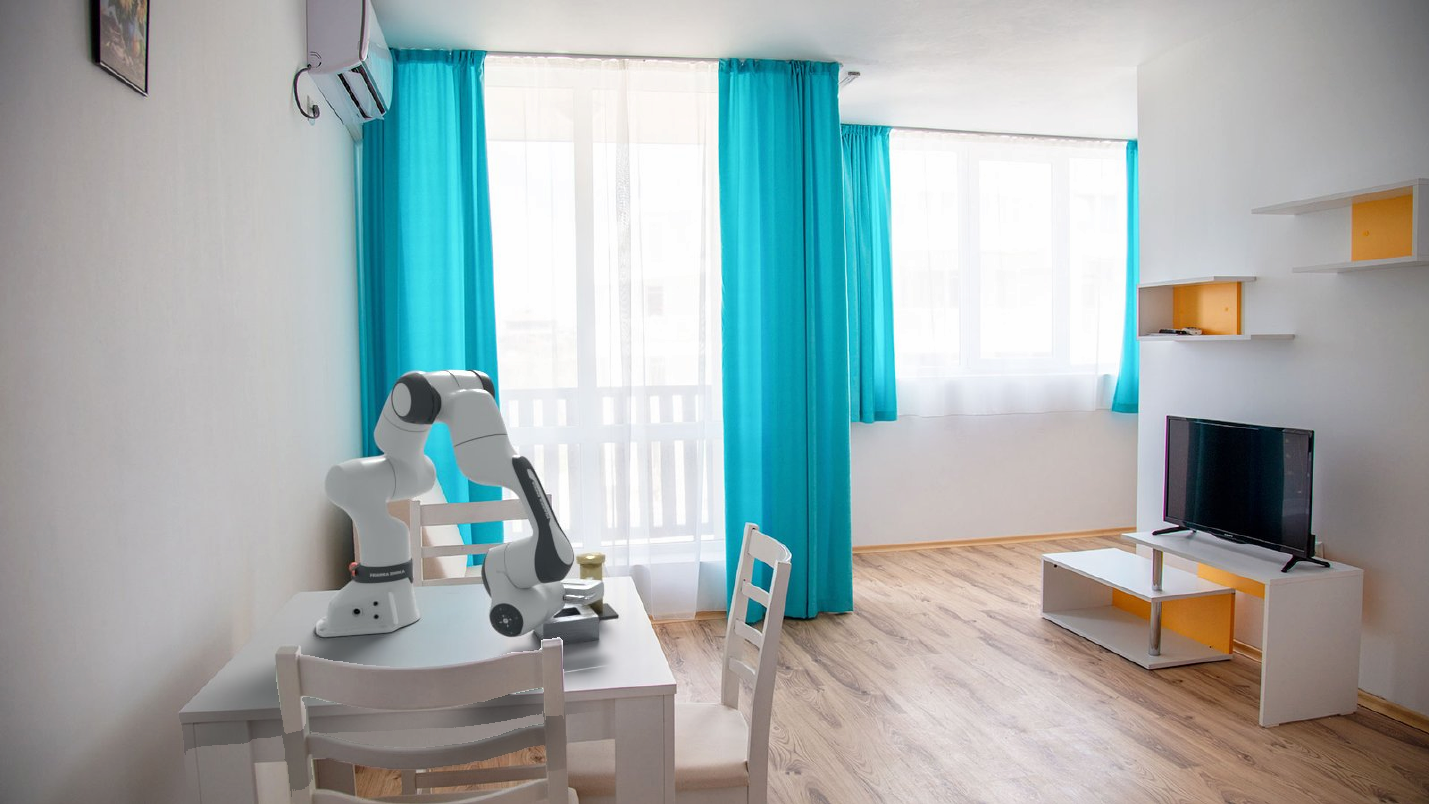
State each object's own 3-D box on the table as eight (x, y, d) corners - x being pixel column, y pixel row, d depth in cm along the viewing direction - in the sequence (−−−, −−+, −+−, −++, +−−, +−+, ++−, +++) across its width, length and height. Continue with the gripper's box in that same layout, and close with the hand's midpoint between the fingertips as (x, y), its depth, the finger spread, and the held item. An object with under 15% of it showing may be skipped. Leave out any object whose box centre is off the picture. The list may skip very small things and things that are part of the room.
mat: (576, 623, 194) (576, 620, 194) (567, 610, 203) (566, 608, 203) (618, 617, 198) (618, 614, 197) (607, 605, 207) (607, 603, 207)
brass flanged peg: (581, 617, 196) (579, 560, 195) (574, 609, 202) (573, 554, 201) (609, 613, 198) (608, 557, 198) (602, 606, 205) (601, 552, 204)
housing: (543, 647, 178) (543, 624, 178) (533, 630, 189) (532, 608, 189) (599, 639, 182) (598, 616, 182) (586, 623, 194) (585, 601, 193)
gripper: (589, 585, 173) (614, 568, 186) (500, 579, 179) (531, 563, 192) (590, 615, 173) (615, 596, 187) (501, 609, 179) (532, 591, 192)
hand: (572, 579), depth 189 cm, fingers open, 8 cm apart
